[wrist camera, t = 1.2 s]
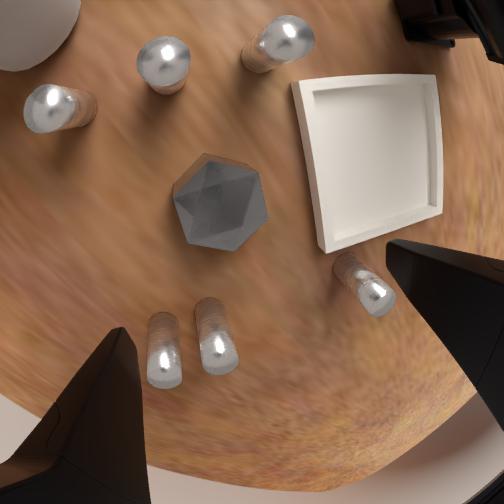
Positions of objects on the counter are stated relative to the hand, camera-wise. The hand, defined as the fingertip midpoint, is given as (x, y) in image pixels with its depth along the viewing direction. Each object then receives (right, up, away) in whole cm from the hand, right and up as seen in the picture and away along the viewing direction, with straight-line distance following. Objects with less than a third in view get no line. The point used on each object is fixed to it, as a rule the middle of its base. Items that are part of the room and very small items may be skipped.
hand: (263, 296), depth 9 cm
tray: (+10, +9, +12) cm, 18 cm away
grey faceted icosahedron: (-3, +5, +11) cm, 13 cm away
